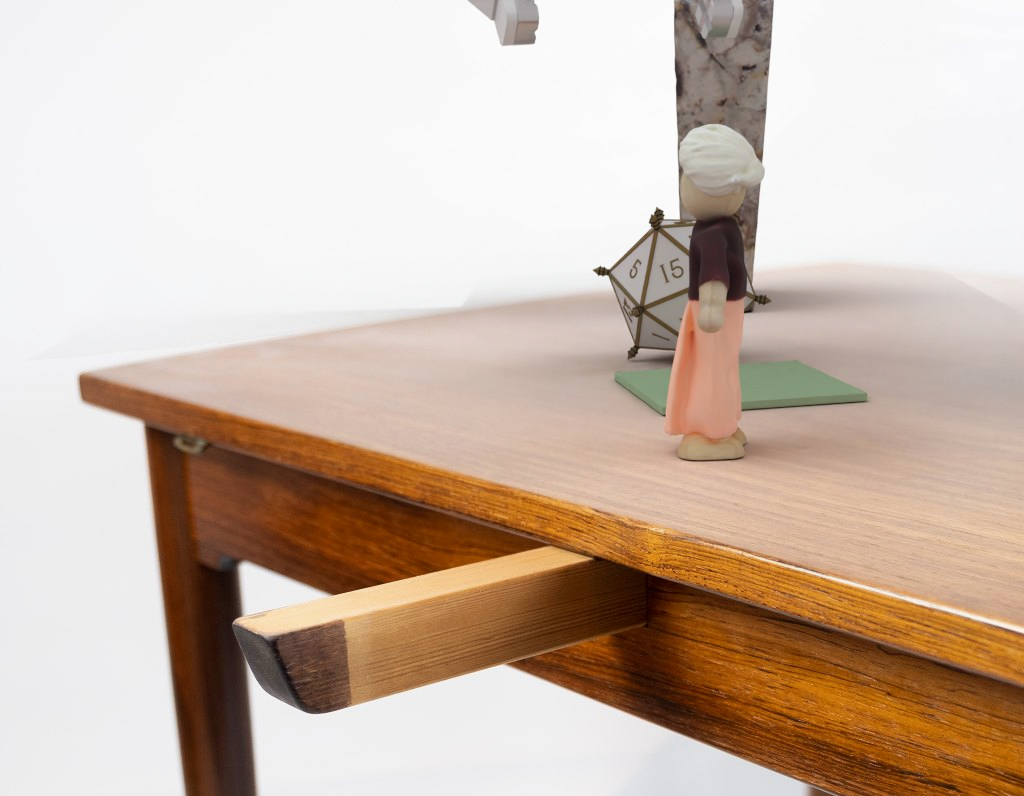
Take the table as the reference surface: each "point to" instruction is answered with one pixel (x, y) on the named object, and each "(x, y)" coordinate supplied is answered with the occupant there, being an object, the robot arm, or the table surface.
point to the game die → (658, 283)
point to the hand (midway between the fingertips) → (624, 30)
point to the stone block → (725, 91)
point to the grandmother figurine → (712, 296)
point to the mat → (754, 386)
